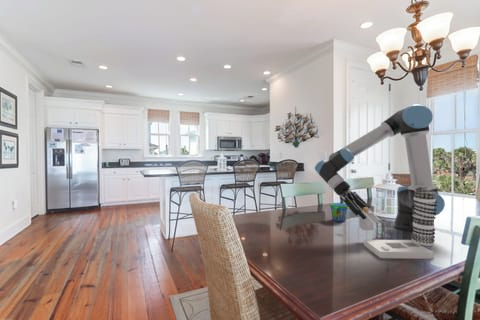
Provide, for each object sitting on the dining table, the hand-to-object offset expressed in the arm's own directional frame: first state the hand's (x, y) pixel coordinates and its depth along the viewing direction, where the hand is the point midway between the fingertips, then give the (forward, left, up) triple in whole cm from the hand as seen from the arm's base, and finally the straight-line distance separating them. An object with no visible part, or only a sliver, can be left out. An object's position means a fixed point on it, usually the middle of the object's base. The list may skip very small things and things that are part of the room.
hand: (374, 222), depth 111 cm
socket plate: (-4, +10, -9) cm, 14 cm away
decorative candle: (-22, -1, -9) cm, 24 cm away
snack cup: (+2, -39, -9) cm, 41 cm away
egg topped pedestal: (+2, -3, -4) cm, 5 cm away
